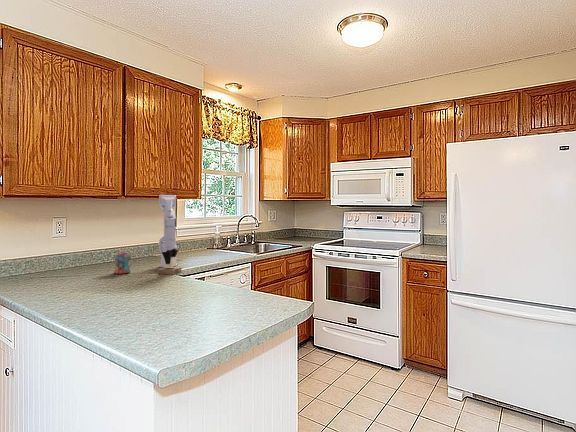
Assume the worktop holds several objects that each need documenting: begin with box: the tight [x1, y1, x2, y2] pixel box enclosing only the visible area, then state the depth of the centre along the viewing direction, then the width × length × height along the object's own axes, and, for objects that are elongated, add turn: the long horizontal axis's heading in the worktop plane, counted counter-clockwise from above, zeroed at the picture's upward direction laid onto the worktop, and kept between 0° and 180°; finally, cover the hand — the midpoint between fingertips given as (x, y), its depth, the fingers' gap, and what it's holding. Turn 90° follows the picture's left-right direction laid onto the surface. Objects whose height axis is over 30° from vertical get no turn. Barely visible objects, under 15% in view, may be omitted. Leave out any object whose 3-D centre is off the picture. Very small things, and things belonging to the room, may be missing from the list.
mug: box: [112, 252, 137, 275], centre depth 202 cm, size 12×9×11 cm
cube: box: [162, 256, 177, 268], centre depth 205 cm, size 5×5×5 cm
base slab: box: [157, 266, 182, 276], centre depth 205 cm, size 9×9×2 cm
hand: (170, 263), depth 205 cm, fingers closed on cube, 5 cm apart
